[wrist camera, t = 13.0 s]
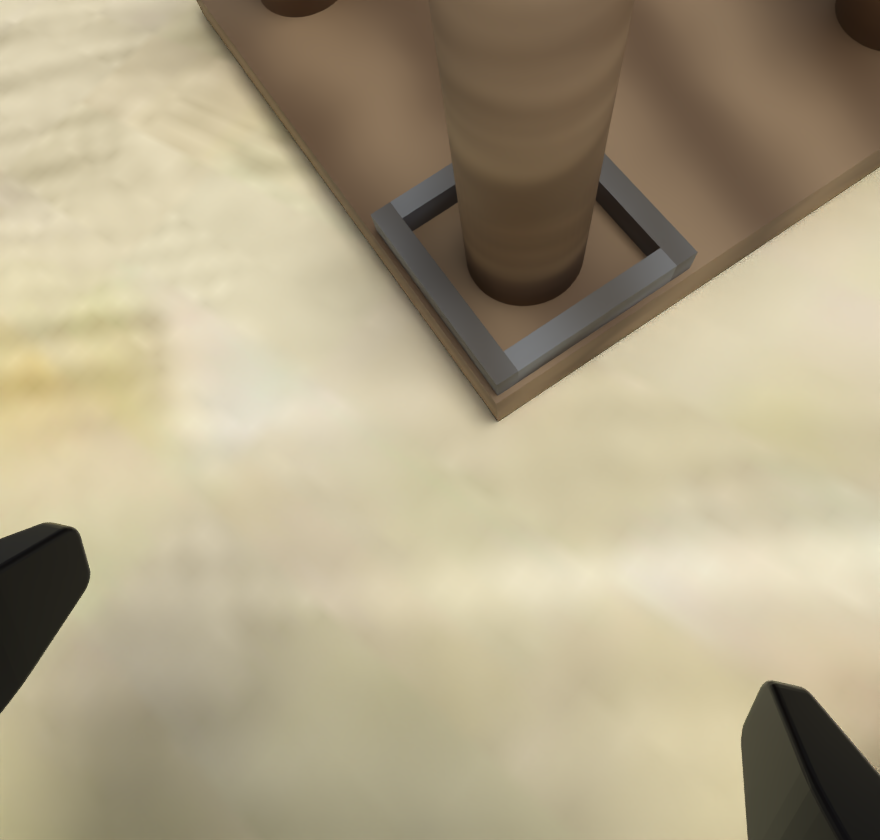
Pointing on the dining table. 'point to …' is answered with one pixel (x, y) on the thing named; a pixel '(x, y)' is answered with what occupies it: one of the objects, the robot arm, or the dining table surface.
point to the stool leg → (528, 132)
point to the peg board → (624, 165)
